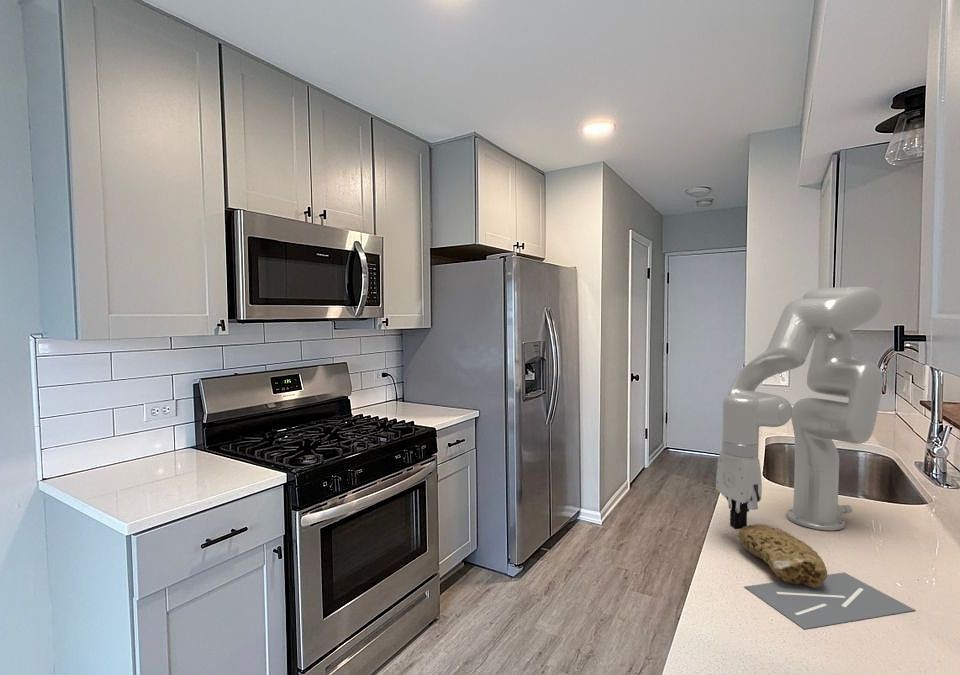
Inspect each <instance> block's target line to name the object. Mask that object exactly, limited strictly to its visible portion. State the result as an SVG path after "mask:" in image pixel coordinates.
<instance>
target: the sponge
mask: <svg viewBox="0 0 960 675" xmlns="http://www.w3.org/2000/svg"><path fill="white" fill-rule="evenodd" d="M737 538H738V541H739V543H740V544H741V545H742V547H743V548H744V549H745V550H746V551H747V552H749V553H750V554H752V555H754V556H755V557H756V558H758V559H761V560H762V561H764V562H765V563H766V564H768V566H769V568H770V570H771V571H772V573H773V574H775V576H776V577H778V578H780V579H782V581H785V582H788V583H792V584H799V585H800V584H801V583H802V584H803V585H806V586H808V587H811V588H816V587H819V586H821V585H822V584H823V583H822V582H823V581H825V579H826V577H827V575H828V570H827V566H826V565H825V562H824V560H823V559H822V557H821V556H820V555H819V554H818V552H817V551H816V550H814V549H813V547H812V546H810V545H809V544H807V543H806V542H805V541H803V540H800V539H798V538H797V537H795V536H794V535H792V534H791V533H790V532H787V531H785V530H783V529H780V528H778V527H774V526H770V525H767V524H766V525H765V524H761V523H760V524H758V523H757V524H753V525H752V524H751V525H750V524H749V525H747V526H744V527H742V528H741V529H738V532H737Z"/></svg>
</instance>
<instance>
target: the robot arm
mask: <svg viewBox="0 0 960 675" xmlns="http://www.w3.org/2000/svg"><path fill="white" fill-rule="evenodd" d="M881 304H882V300H881V296H880V294H879V292H878V291H876V290H875V289H874V288H872V287H869V286H846V287H845V286H843V287H838V286H837V287H823V288H822V287H821V288H815V289H812V290H809V291H807V292H805V294H803V296H802V298H800V299H794V300H792V301H790V302H788V303H787V305H785V307H784V309H783V311H782V313H781V315H780V317H779V321H778V322H777V325H776V328H775V329H774V332H773V334H772V337H771V339H770V341H769V343H768V346H767V348H766V349H765V350H764V352H762V353H760V354H759V355H758V356H756V357H755V358H753V359H752V360H751V361H749V362H748V363H747V364H746V365H745V366H743V367H742V368H741V370H739V371H738V372H737V374H736V376H735V377H734V380H733V382H732V384H731V386H730V389H729V391H728V394H727V396H725V397H724V399H723V401H722V402H723V403H722V436H721V437H722V439H721V440H722V441H721V442H722V444H721V445H722V446H721V450H720V452H719V455H718V459H717V467H716V479H715V488H716V490H717V492H718V493H720V495H721V496H723V497H724V498H725V499H726V500H727V503H728V504H727V506H728V509H730V511H729V512H730V513H729V527H731V528H733V529H734V530H740V529H741V528H742V527H744V526H748V525H747V524H748V519H747V518H748V513H749V512H750V510H751V511H753V510H758V509H759V505H758V504H759V502H761V500H762V491H763V490H762V488H763V486H762V484H763V483H762V471H761V470H762V469H761V463H760V459H759V445H760V444H759V443H760V442H759V441H760V440H759V438H760V428H761V427H764V428H765V427H766V428H779V427H782V426H784V425H786V424H787V423H788V422H790V420H791V423H792V429H793V434H794V435H793V436H794V472H793V474H794V475H793V476H794V480H793V482H794V483H793V508H789V509H788V510H786V518H787V519H788V520H789V521H791V522H793V523H794V524H796V525H799V526H802V527H806V528H809V529H812V530H813V529H814V530H820V531H830V532H831V531H840V530H842V529H844V528H845V526H846V522H845V520H844V519H843V518H842V517H841V516H842V515H843V514H850V513H852V512H853V508H852V506H851V505H849V504H845V505H844V504H842V505H840V504H839V479H840V478H839V477H840V476H839V475H840V474H839V473H840V454H839V452H838V451H839V450H838V448H837V446H836V444H835V443H834V441H838V442H842V443H848V444H855V445H861V444H864V443H867V442H868V441H869V440H870V438H871V436H872V435H873V432H874V429H875V425H876V420H877V416H878V411H879V407H880V403H881V396H882V393H883V386H884V384H883V383H884V378H883V374H882V371H881V369H880V367H879V366H878V365H877V364H875V363H874V362H871V361H868V360H863V359H862V360H861V359H853V352H854V346H855V340H854V336H853V335H852V333H851V332H850V331H852V330H854V329H856V328H859V327H861V326H863V325H865V324H867V323H869V322H871V321H872V320H874V319H875V317H876V316H877V315H879V312H880V310H881V308H882V307H881V306H882V305H881ZM812 346H813V348H812V351H811V352H812V353H811V356H810V361H809V365H808V370H807V375H806V384H807V387H808V389H809V390H810V391H812V392H814V393H816V394H817V393H818V394H821V395H827V396H833V397H839V398H840V397H841V398H848V401H847V402H846V401H845V402H844V401H837V400H833V399H825V398H818V397H805V398H802V399H800V400H798V401H796V402H795V403H794V404H793V406H792V404H791V402H790V401H789V400H788V399H786V398H785V397H783V396H780V395H777V394H773V393H766V392H761V391H760V392H759V391H755V390H756V389H757V388H758V386H759V385H760V384H762V383H763V382H764V381H766V380H767V379H770V378H771V377H773V376H776V375H779V374H782V373H785V372H788V371H789V372H790V371H791V370H795V369H797V368H799V367H802V366H803V365H804V364H805V362H806V361H807V360H806V359H807V357H808V354H809V353H810V350H811V347H812Z"/></svg>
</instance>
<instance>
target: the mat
mask: <svg viewBox="0 0 960 675" xmlns="http://www.w3.org/2000/svg"><path fill="white" fill-rule="evenodd" d="M822 583H823V584H822V585H821V586H819V587H816V588H811V587H808V586H806V585H803V584H802V583H801V584H800V585H799V584H792V583H788V582H785V581H783V580H779V581H775V582H774V581H773V582H768V583H767V582H766V583H761V584H760V583H759V584H753V585H746V586H744V588H745V589H746V590H747V591H749V592H750V593H752V594H753V595H754V596H756V597H757V598H758V599H760V600H761V601H763V602H764V603H766V605H767V604H768V606H770V607H771V608H773V609H774V610H776V611H777V612H778V613H780V614H781V615H783V616H784V617H786V618H787V619H789V620H790V621H792V622H793V623H795V625H797V626H799V627H800V628H801V629H803V630H810V629H815V628H816V629H817V628H822V627H829V626H833V625H834V626H835V625H840V624H846V623H852V622H857V621H864V620H868V619H874V618H875V619H876V618H880V617H886V616H893V615H900V614H905V613H910V612H915V611H916V609H914V608H912V607H911V606H909V605H907V604H905V603H903V602H901V601H899V600H897V599H896V598H894V597H892V596H890V595H888V594H886V593H884V592H883V591H881V590H878V589H877V588H875V587H873V586H871V585H869V584H867V583H865V582H864V581H861V580H859V579H858V578H856V577H854V576H852V575H850V574H848V573H846V572H844V571H843V572H837V573H832V574H831V573H830V574H827V577H826V579H825V581H823V582H822Z"/></svg>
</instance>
